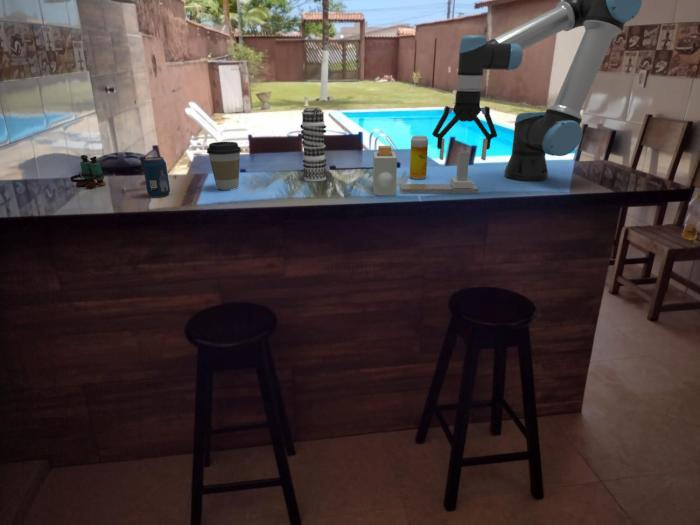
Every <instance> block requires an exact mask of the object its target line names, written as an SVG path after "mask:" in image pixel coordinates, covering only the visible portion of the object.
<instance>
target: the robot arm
mask: <svg viewBox="0 0 700 525" xmlns="http://www.w3.org/2000/svg"><path fill="white" fill-rule="evenodd" d="M642 4H643V0H562V1H559V2H558V3H557V4H556V7H554V8H552V9H551V10H548V11H546V12H544V13H542V14H541V15H538V16H536V17H534V18H532V19H530V20H528V21H526V22H524V23H521V24H520V25H518V26H515V27H514V28H512V29H509V30H507V31H506V32H503V33H501V34H499V35H497V36H495V37H493V38H492V39H490V40H487V37H486V35H481V34H479V35H478V34H469V35H464V36H462V37H461V39H460V42H459V43H460V44H459V50H458V66H457V77H456V78H457V79H456V89H457V91H456V92H455V100H454V102H455V103H454V106H452V107H451V106H449V105H445V106H444V108H443V113H442V115H441V117H440V119H439V120H438V122H437V124H436V126H435V127H434V129H433V132H432V136H433V137H435V138H437V145H436V147H437V150H439V159H440V161H443V160H444V152H445V141H446V140H445V138H444V137H445V135H447V133H449V131H450V130H451V129H452V128H453V127H454V126H455V125H456V124H457V123H458V122H459V121H460V122H462V123H463V122H474V123H475V124H476V126H477V127H478V129H479V130H480V131H481V132H482V134H483V136H484V137H485V138H482V145H481V146H482V148H481V154H480V155H481V158H480V159H481V160H482V161H486V159H487V150H490V148H491V140H493V138H497V137H498V133H497V130H496V127H495V124H494V122H493V120H492V117H491V114H490V112H491V111H490V109H491V108H490V107H489V106H487V105H486V106H483V107H481V106H480V104H481V95H482V92H481V91H480V90H481V89H482V87H483V86H482V85H483V84H482V83H483V74H484V71H485V70H492V71H493V70H495V71H511V70H517V69H518V68H519V67H520V65H521V64H522V61H523V55H524V52H523V50H525V49H527V48H529V47H531V46H534V45H536V44H537V43H540V42H541V41H544V40H546V39H548V38H550V37H552V36H554V35H556V34H558V33H560V32H562V31H564V32H569V31H572V30H573V29H575V28H580V27H584V29H585V30H584V34H583V36H582V39H581V40H580V43H579V45H578V48H576V49H577V50H576V52H575V54H574V56H573V59H572V62H571V64H570V66H569V68H568V71H567V73H566V75H565V78H564V80H563V83H562V85H561V87H560V89H559V91H558V94H557V97H556V98H555V101H554V104H553V105H551V106H549V107H548V108H546V111H539V112H538V111H537V112H536V111H535V112H521V113H518V114H517V115H516V117H515V121H514V131H513V139H512V148H511V156H510V158H509V160H508V162H507V165H506V167H505V169H504V177H505V178H507V179H511V180H516V181H524V182H525V181H526V182H538V181H539V182H540V181H545V180H547V179H548V175H549V171H548V166H547V161H546V160H547V159H546V154H547V155H549V156H552V157H553V156H554V157H565V156H567V155H569V154H571V153H573V152H574V150H576V149H577V147H578V146H579V145H580V143H581V141H582V138H583V132H582V130H583V129H582V127H581V123H582V121H583V118H582V115H581V112H582V109H583V106H584V104H585V102H586V100H587V97H588V95H589V94H590V90H591V88H592V86H593V84H594V83H595V79H596V78H597V75H598V73H599V70H600V68H601V66H602V64H603V61H604V59H605V57H606V54H607V53H608V50H609V48H610V46H611V43H612V41H613V39H614V38H615V37H617V36H618V35H620V34H621V33H622V31H623V29H624V27H625V24H626V23H628V22H630V21H631V20H633V19H634V18H636V16H637V15H638V14H639V13H640V10H641V8H642ZM452 112H453V113H454V116H453V118H452V119H451V120H449V122H448V123H447V124H446V126H444V123H445V122H446V120H447V118H448V116H449V115H450V114H451V113H452ZM480 113H482V115H484V118H485V120H486V124H487V126H488V129H489V131H490V133H489V131H488V130H487V129H486V127H485V126H484V124H483V123H482V122H481V120H480V118H479V117H478V116H479V114H480ZM443 126H444V128H443ZM441 129H442V130H441Z"/></svg>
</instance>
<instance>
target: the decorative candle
mask: <svg viewBox="0 0 700 525" xmlns="http://www.w3.org/2000/svg"><path fill="white" fill-rule="evenodd" d="M301 114H302V121H301V124H300V126H299V127H300V129H302V130H301V131H300V134H301V136H300V137H301V139H302V141H301V144H302V148H303V160H302V162H303V165H302V167H304V168H303V169H302V172H303V174H302V176H303V180H304V181H307V182H322V181H325V180H327V177H326V176H327V164H326V162H327V159H326V154H325V148H326V146H327V145H326V144H325V143H327V140H325V139H326V138H327V135H325V133H327V130H326V128H327V125H325V118H324V117H325V116H324V114H325V111H323V110H322V108H320V107H307V108H304V109H303V111H302V112H301Z"/></svg>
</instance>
